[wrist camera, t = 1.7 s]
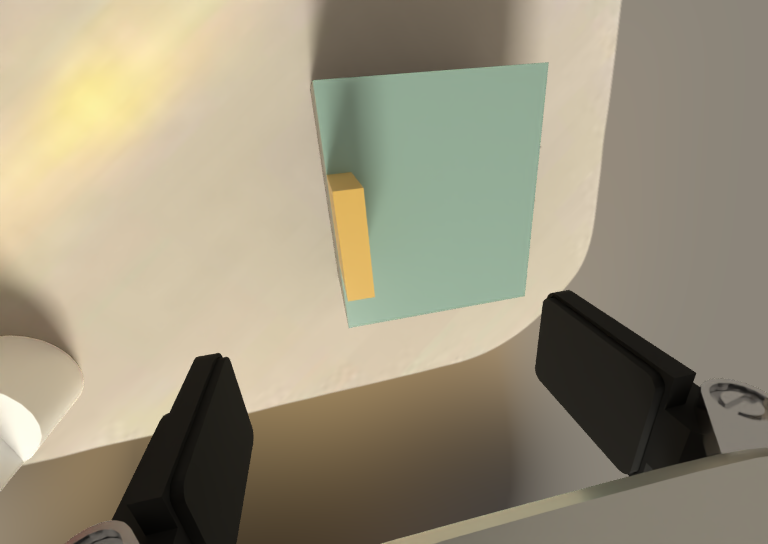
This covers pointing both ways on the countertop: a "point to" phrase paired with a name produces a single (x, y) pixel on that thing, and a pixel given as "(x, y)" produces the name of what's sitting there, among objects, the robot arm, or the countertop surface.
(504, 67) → the door
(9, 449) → the cylinder with rectangular tab
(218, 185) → the countertop surface
